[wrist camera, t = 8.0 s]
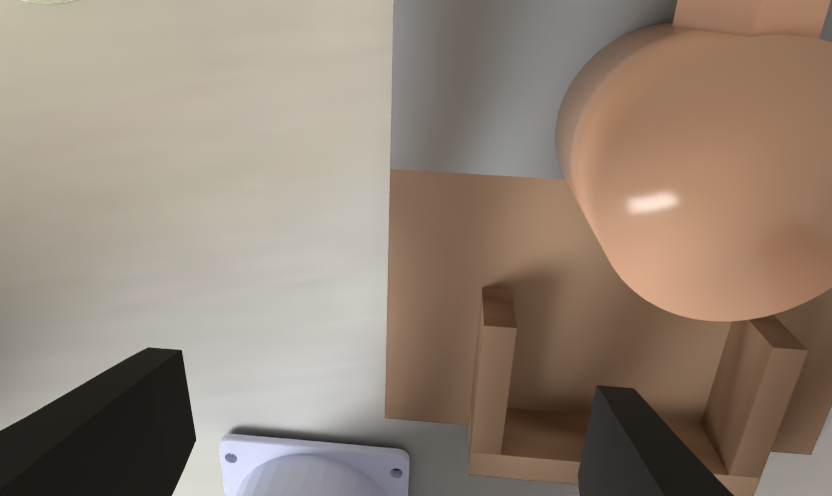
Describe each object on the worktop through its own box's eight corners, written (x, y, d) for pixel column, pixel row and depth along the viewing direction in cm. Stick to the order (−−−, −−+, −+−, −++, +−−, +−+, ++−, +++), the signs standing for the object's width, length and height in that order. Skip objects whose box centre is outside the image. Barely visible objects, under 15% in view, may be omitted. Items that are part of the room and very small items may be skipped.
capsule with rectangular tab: (542, 217, 18) (575, 311, 13) (589, -121, 15) (663, -193, 9) (734, 230, 18) (850, 331, 13) (832, -114, 14) (1059, -184, 9)
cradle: (387, 404, 23) (375, 466, 20) (401, -212, 15) (385, -266, 12) (799, 439, 22) (852, 509, 19) (1054, -199, 14) (1216, -253, 11)
